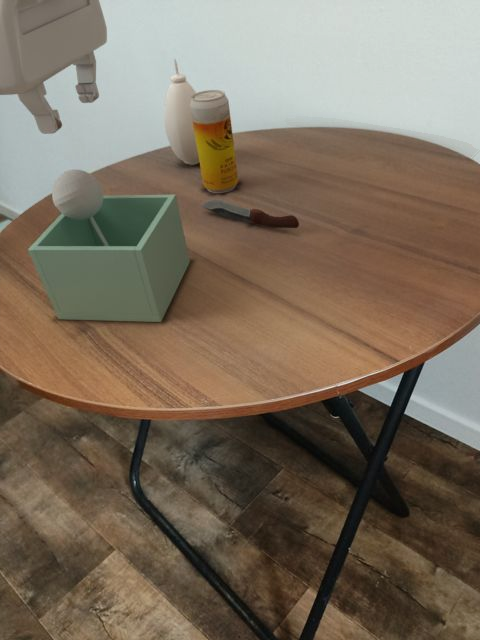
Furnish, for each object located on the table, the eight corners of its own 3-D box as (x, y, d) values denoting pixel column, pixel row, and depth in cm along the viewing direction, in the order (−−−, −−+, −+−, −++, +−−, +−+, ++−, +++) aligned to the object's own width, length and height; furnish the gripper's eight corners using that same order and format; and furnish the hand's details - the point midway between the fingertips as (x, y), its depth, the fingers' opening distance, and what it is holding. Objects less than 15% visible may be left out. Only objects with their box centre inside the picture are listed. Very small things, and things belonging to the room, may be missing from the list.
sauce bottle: (182, 175, 96) (161, 67, 84) (167, 162, 102) (145, 59, 90) (220, 163, 99) (205, 57, 87) (203, 152, 104) (186, 50, 92)
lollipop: (132, 286, 64) (66, 169, 58) (98, 297, 67) (31, 187, 61) (155, 266, 69) (97, 156, 63) (122, 277, 72) (63, 173, 66)
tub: (58, 319, 65) (27, 249, 59) (99, 261, 75) (77, 195, 69) (161, 322, 63) (140, 249, 56) (190, 261, 73) (175, 194, 66)
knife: (198, 213, 84) (195, 195, 82) (204, 209, 85) (201, 191, 83) (296, 238, 75) (295, 219, 73) (301, 233, 76) (300, 214, 74)
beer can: (230, 195, 88) (217, 101, 78) (198, 193, 90) (181, 100, 80) (244, 180, 92) (233, 89, 82) (212, 178, 94) (198, 88, 84)
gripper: (43, -58, 54) (84, 87, 63) (-85, -33, 39) (-6, 152, 48) (100, -64, 52) (134, 84, 62) (-9, -40, 38) (57, 151, 47)
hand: (72, 115), depth 55 cm, fingers open, 8 cm apart
